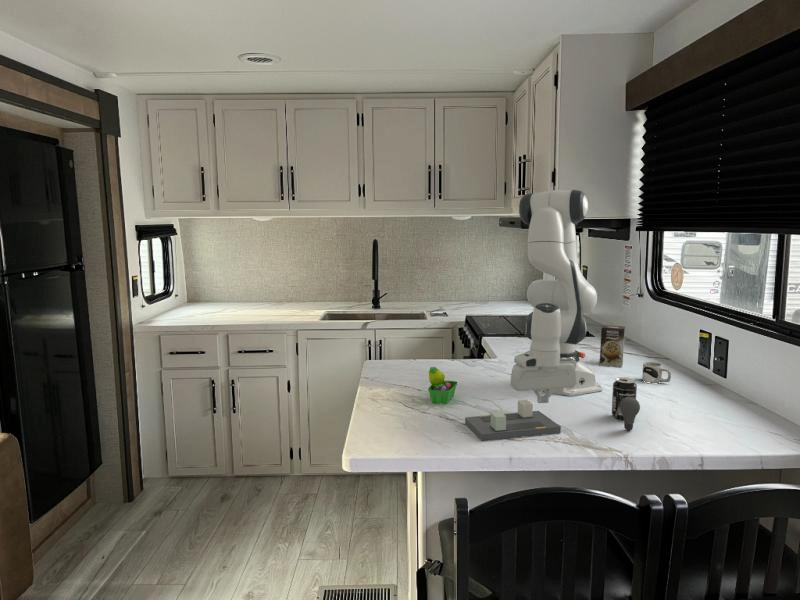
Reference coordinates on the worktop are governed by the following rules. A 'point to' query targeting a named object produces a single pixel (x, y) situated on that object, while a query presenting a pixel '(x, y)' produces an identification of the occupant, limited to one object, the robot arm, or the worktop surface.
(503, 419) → the sage tab
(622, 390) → the beverage can
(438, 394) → the fruit basket
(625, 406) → the light bulb
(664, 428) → the worktop surface
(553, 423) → the switch panel
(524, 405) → the cream tab
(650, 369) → the mug
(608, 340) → the coffee box
